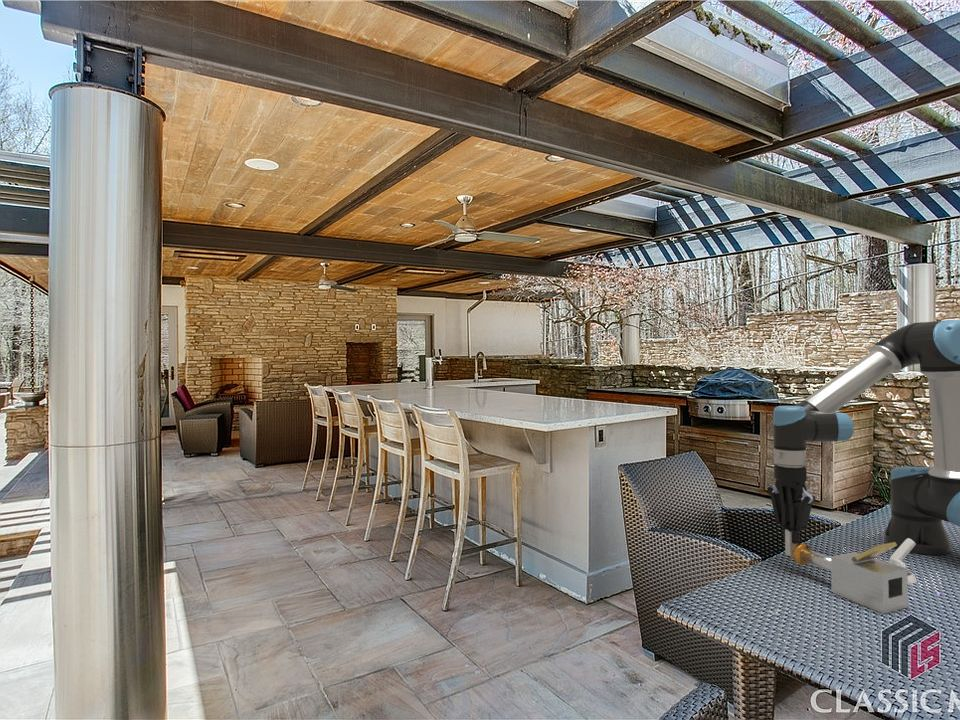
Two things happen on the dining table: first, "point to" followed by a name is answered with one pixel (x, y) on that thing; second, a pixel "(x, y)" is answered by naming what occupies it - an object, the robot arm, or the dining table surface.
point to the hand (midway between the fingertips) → (791, 554)
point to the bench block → (870, 582)
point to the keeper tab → (873, 552)
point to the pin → (810, 557)
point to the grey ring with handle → (899, 556)
